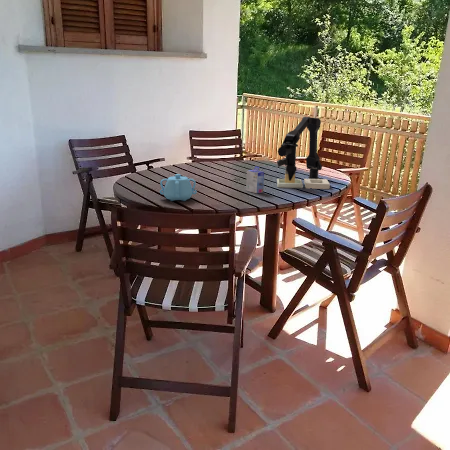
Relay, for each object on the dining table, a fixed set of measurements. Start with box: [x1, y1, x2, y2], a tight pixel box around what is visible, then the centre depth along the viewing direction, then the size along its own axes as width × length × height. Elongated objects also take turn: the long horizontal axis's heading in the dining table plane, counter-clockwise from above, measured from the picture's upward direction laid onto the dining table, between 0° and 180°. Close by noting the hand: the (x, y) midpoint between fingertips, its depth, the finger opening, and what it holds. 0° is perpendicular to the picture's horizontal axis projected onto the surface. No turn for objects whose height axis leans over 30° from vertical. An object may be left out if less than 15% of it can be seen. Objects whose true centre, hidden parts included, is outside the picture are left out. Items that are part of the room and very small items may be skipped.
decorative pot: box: [159, 173, 198, 202], centre depth 242 cm, size 16×16×14 cm
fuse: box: [284, 169, 296, 183], centre depth 276 cm, size 4×6×7 cm
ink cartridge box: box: [245, 165, 265, 194], centre depth 259 cm, size 10×6×14 cm, turn 38°
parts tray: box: [276, 178, 304, 189], centre depth 277 cm, size 14×15×2 cm
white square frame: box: [303, 178, 331, 190], centre depth 276 cm, size 14×14×3 cm
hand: (289, 179), depth 277 cm, fingers closed on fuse, 4 cm apart
